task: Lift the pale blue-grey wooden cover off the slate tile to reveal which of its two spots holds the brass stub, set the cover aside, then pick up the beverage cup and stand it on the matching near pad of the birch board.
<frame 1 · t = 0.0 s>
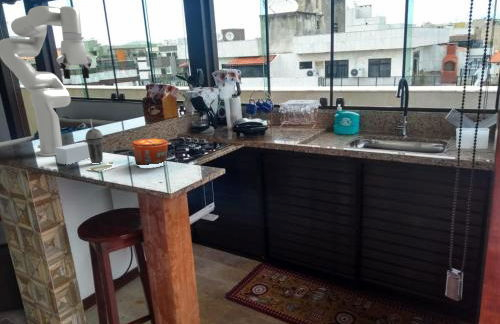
hand: (77, 78, 161), 37 cm above the countertop, tool pointing down, fingers open, 9 cm apart
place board: (110, 166, 159), on the countertop
cover: (75, 160, 168), on the countertop
stub tile: (75, 160, 168), on the countertop
food container: (151, 165, 161), on the countertop
beverage cup: (97, 163, 164), on the countertop
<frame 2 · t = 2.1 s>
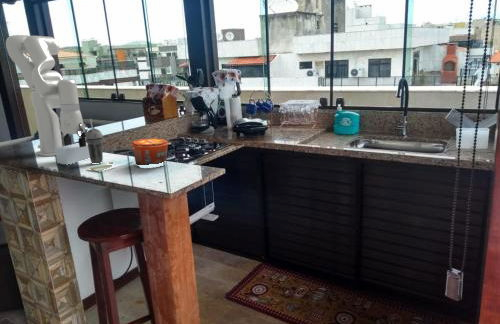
hand: (75, 146, 166), 7 cm above the countertop, tool pointing down, fingers open, 9 cm apart
cover: (75, 160, 168), on the countertop, touching gripper
everything else where it was.
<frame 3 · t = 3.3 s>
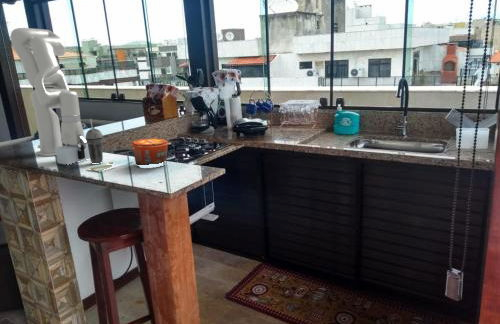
hand: (75, 157, 168), 1 cm above the countertop, tool pointing down, fingers closed on cover, 7 cm apart
cover: (76, 160, 168), on the countertop, touching gripper
everything else where it was.
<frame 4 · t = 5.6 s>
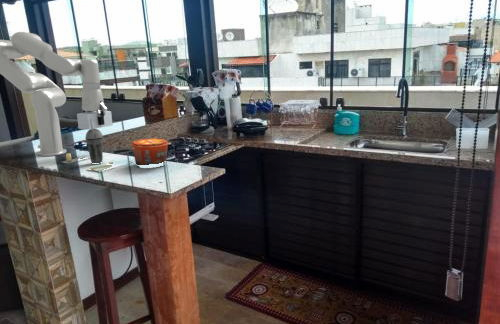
hand: (95, 123, 175), 15 cm above the countertop, tool pointing down, fingers closed on cover, 7 cm apart
cover: (96, 127, 176), point 14 cm above the countertop, touching gripper
everything else where it was.
when the fingers open (2 cm above the countertop, at t = 8.0 s): cover stays where it is, on the countertop.
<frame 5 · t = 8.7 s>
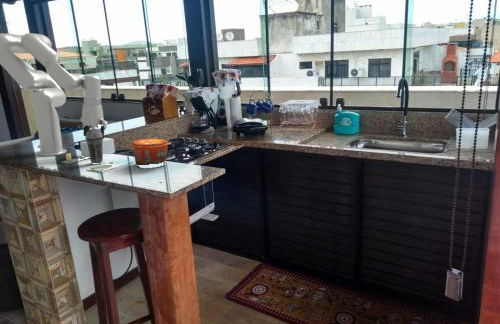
hand: (93, 137, 177), 9 cm above the countertop, tool pointing down, fingers open, 9 cm apart
cover: (98, 154, 179), on the countertop
everything else where it was.
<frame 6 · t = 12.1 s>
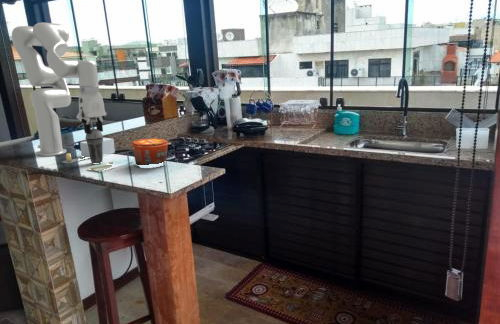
hand: (94, 131, 160), 14 cm above the countertop, tool pointing down, fingers closed on beverage cup, 5 cm apart
beverage cup: (97, 163, 164), on the countertop, touching gripper
everything else where it was.
when the fingers open (16 cm above the countertop, at t = 17.1 s): beverage cup drops 1 cm, resting on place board.
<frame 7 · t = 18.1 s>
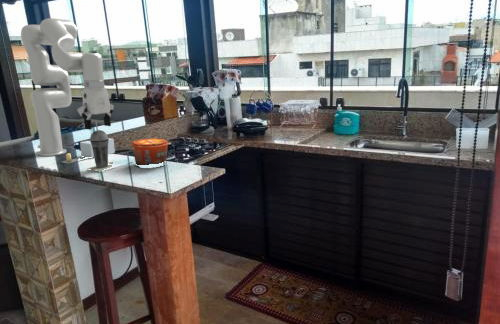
hand: (98, 127, 151), 18 cm above the countertop, tool pointing down, fingers open, 9 cm apart
beverage cup: (102, 167, 155), point 1 cm above the countertop, touching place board
everything else where it was.
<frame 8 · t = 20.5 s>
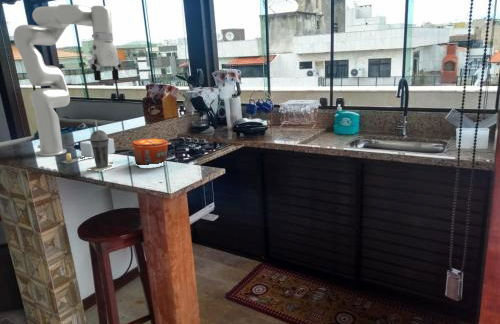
hand: (107, 80, 156), 36 cm above the countertop, tool pointing down, fingers open, 9 cm apart
nothing on the countertop moved.
at the end: beverage cup inside the target area on the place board (0.0 cm from its centre), point 0.7 cm above the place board's base; beverage cup tilted 0°; cover moved 13.0 cm from its start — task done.
